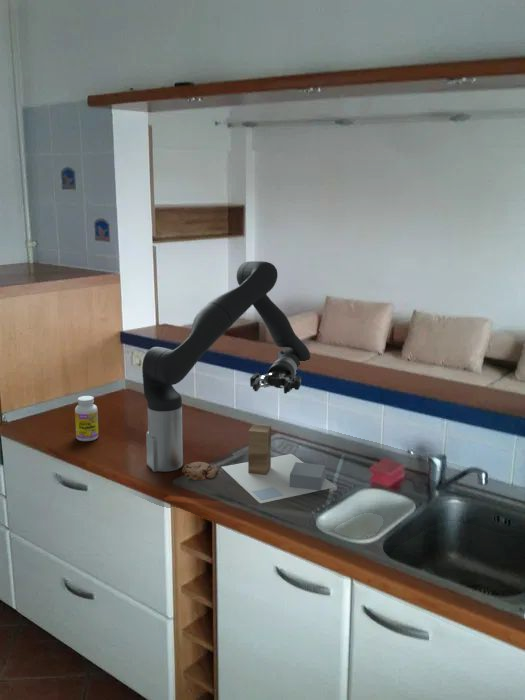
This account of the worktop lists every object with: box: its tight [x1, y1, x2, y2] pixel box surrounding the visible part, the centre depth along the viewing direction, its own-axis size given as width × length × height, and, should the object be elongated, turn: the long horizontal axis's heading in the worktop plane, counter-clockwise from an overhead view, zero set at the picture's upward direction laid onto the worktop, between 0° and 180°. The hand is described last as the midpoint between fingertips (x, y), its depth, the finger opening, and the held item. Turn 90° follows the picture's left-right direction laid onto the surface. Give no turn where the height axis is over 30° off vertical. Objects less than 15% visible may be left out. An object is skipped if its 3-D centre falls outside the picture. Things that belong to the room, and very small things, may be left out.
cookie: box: [181, 461, 219, 481], centre depth 180 cm, size 10×11×3 cm
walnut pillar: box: [247, 424, 272, 475], centre depth 180 cm, size 5×5×12 cm
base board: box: [221, 453, 338, 508], centre depth 178 cm, size 22×24×4 cm
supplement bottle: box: [74, 395, 99, 442], centre depth 205 cm, size 7×7×13 cm
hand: (270, 389), depth 188 cm, fingers open, 8 cm apart
